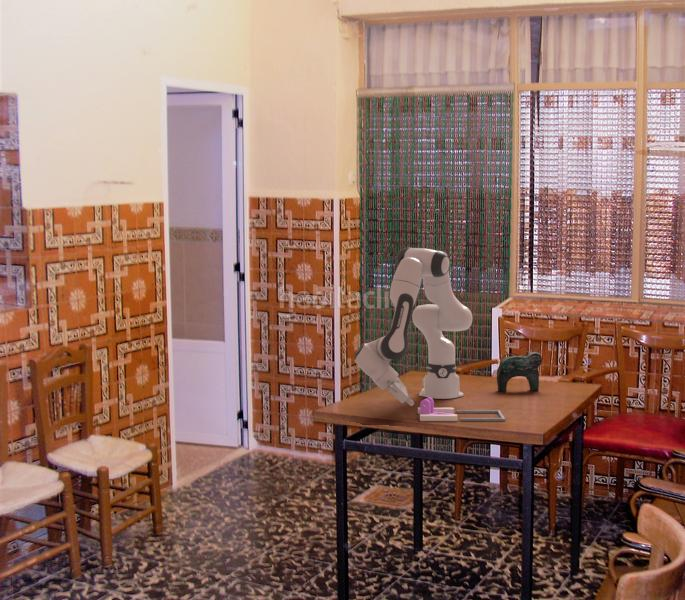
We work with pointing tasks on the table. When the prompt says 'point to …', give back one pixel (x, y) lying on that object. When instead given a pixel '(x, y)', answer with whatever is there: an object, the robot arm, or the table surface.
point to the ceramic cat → (519, 369)
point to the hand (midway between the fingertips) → (412, 404)
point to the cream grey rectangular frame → (454, 416)
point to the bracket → (428, 407)
